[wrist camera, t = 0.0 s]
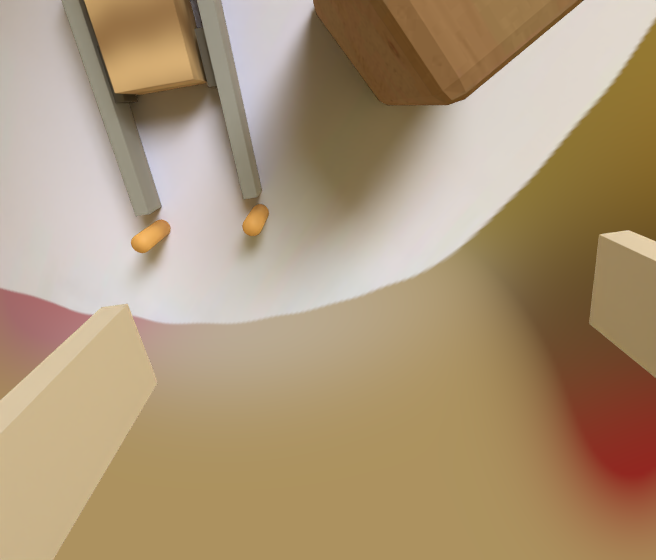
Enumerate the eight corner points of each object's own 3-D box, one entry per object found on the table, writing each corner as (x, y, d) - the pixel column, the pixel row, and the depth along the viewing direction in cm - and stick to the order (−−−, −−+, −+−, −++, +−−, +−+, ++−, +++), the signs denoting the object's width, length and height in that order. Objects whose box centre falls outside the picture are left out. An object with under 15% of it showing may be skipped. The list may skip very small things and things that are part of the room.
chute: (71, -20, 32) (28, -42, 27) (213, -47, 31) (194, -73, 26) (156, 236, 40) (134, 254, 35) (270, 219, 39) (263, 234, 35)
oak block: (102, -33, 31) (65, -56, 27) (178, -48, 31) (153, -74, 27) (142, 94, 35) (115, 93, 30) (210, 82, 35) (193, 79, 30)
